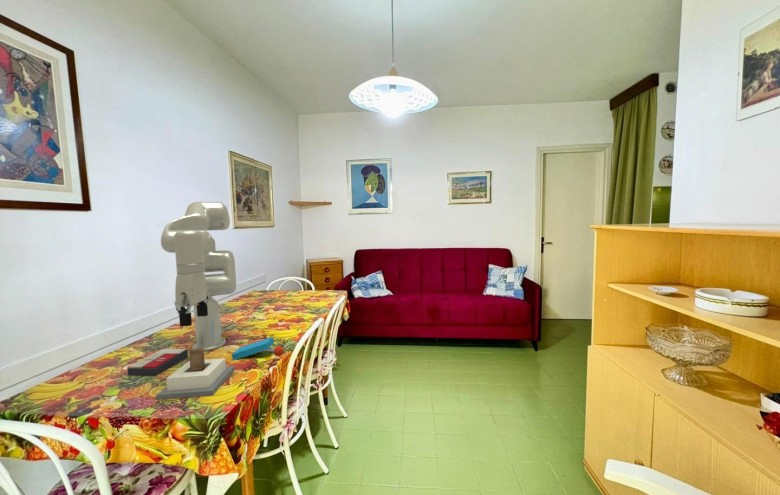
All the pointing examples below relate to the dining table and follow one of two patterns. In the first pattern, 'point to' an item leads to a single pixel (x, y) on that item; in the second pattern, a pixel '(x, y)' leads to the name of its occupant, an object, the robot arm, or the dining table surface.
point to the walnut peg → (197, 359)
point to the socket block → (196, 380)
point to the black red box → (157, 362)
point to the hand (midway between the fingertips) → (194, 320)
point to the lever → (257, 348)
